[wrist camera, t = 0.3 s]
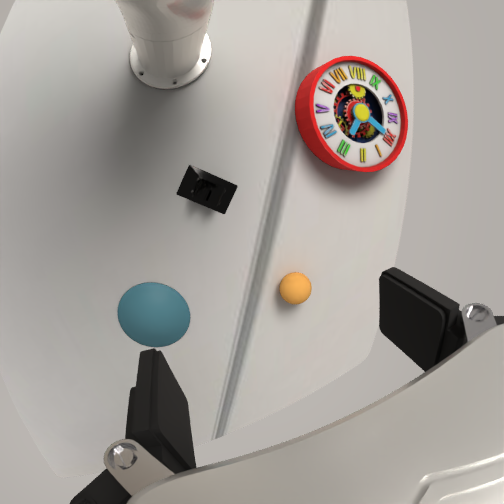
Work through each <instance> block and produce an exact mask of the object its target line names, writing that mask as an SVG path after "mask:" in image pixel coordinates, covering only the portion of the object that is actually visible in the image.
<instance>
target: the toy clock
mask: <svg viewBox="0 0 504 504" xmlns="http://www.w3.org/2000/svg"><path fill="white" fill-rule="evenodd" d="M295 115H296V122H297V125H298V129H299V131H300V134H301V136H302V138H303V140H304V142H305V143H306V145H307V146H308V148H309V149H310V150H311V151H312V152H313V153H314V154H315V155H316V156H317V157H318V158H319V159H320V160H322V161H323V162H325V163H326V164H328V165H330V166H332V167H335V168H338V169H344V170H352V171H361V172H374V171H377V170H381V169H383V168H385V167H387V166H388V165H390V164H391V163H392V162H393V161H394V160H395V159H396V158H397V156H398V155H399V154H400V152H401V150H402V148H403V146H404V143H405V140H406V136H407V130H408V118H407V110H406V106H405V102H404V99H403V97H402V94H401V92H400V90H399V89H398V87H397V85H396V84H395V82H394V81H393V79H392V78H391V77H390V76H389V75H388V74H387V73H386V72H385V71H384V70H383V69H382V68H381V67H379V66H378V65H377V64H375V63H373V62H371V61H369V60H367V59H364V58H361V57H356V56H343V57H339V58H335V59H333V60H331V61H329V62H328V63H326V64H324V65H322V66H320V67H318V68H317V69H315V70H313V71H312V72H311V73H309V74H308V75H307V76H306V77H305V79H304V80H303V81H302V83H301V85H300V87H299V89H298V92H297V96H296V100H295Z"/></svg>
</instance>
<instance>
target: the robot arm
mask: <svg viewBox="0 0 504 504" xmlns="http://www.w3.org/2000/svg"><path fill="white" fill-rule="evenodd" d="M115 1H116V3H117V4H118V6H119V8H120V10H121V12H122V15H123V17H124V20H125V23H126V25H127V28H128V31H129V33H130V36H131V39H132V41H133V45H132V47H131V51H130V64H131V68H132V70H133V72H134V73H135V75H136V76H137V78H138V79H140V80H141V81H142V82H143V83H145V84H147V85H149V86H151V87H154V88H159V89H172V88H178V87H181V86H184V85H186V84H188V83H190V82H192V81H194V80H195V79H196V78H198V77H199V76H200V75H201V74H202V73H203V72H204V70H205V69H206V67H207V65H208V63H209V61H210V57H211V50H212V47H211V42H210V39H209V37H208V35H207V34H206V31H207V28H208V24H209V20H210V16H211V13H212V9H213V5H214V0H115ZM203 61H204V62H205V63H202V62H203ZM142 73H143V75H142V76H141V74H142ZM174 82H176V84H173V83H174ZM379 293H380V319H379V327H380V330H381V332H382V333H383V334H384V335H385V336H386V337H387V338H388V339H389V340H391V341H392V342H393V343H394V344H395V345H396V346H397V347H398V348H399V349H401V350H402V351H403V352H404V353H405V354H406V355H407V356H408V357H410V358H411V359H412V360H413V361H414V362H415V363H416V364H417V365H418V366H419V367H421V368H422V369H423V370H424V371H425V373H423V374H422V375H420V376H419V377H417V378H415V379H414V380H412V381H410V382H409V383H407V384H406V385H404V386H402V387H401V388H399V389H397V390H395V391H394V392H392V393H390V394H388V395H387V396H385V397H383V398H381V399H379V400H378V401H376V402H374V403H372V404H370V405H368V406H366V407H365V408H362V409H360V410H358V411H356V412H354V413H352V414H350V415H348V416H346V417H344V418H342V419H340V420H338V421H335V422H333V423H331V424H329V425H326V426H324V427H321V428H319V429H317V430H315V431H312V432H309V433H307V434H304V435H302V436H299V437H297V438H294V439H292V440H289V441H286V442H283V443H280V444H277V445H274V446H271V447H269V448H266V449H262V450H259V451H256V452H253V453H250V454H246V455H243V456H240V457H236V458H233V459H229V460H225V461H221V462H218V463H214V464H210V465H206V466H202V467H198V468H196V463H195V456H194V449H193V441H192V434H191V426H190V417H189V408H188V402H187V399H186V397H185V395H184V393H183V391H182V389H181V388H180V386H179V384H178V382H177V380H176V379H175V377H174V375H173V373H172V371H171V369H170V367H169V365H168V363H167V361H166V359H165V357H164V355H163V354H162V352H161V351H156V349H154V348H153V349H150V350H146V351H142V352H140V358H139V365H138V373H137V382H136V387H132V388H131V390H130V396H129V405H128V414H127V424H126V435H125V439H122V440H119V441H116V442H114V443H113V444H111V445H110V446H109V447H108V448H107V450H106V452H105V454H104V464H105V466H106V469H105V470H104V471H103V472H102V473H101V474H100V475H99V476H98V477H96V478H95V479H94V480H93V481H92V482H91V483H90V484H89V485H87V486H86V488H84V489H83V490H82V491H81V492H80V493H78V494H77V495H76V496H75V497H74V498H73V499H72V500H71V502H70V504H504V316H493V313H492V311H491V309H490V308H488V307H487V306H485V305H483V304H479V303H472V304H468V305H466V306H465V307H464V308H463V309H462V312H461V311H460V310H459V304H458V303H457V302H455V301H453V300H452V299H450V298H448V297H446V296H445V295H443V294H441V293H440V292H438V291H436V290H435V289H433V288H431V287H429V286H427V285H426V284H424V283H422V282H421V281H419V280H417V279H415V278H413V277H412V276H410V275H408V274H406V273H405V272H403V271H401V270H399V269H397V268H395V267H392V268H390V269H388V270H385V271H383V272H382V274H381V276H380V278H379Z"/></svg>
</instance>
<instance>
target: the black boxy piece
mask: <svg viewBox="0 0 504 504" xmlns="http://www.w3.org/2000/svg"><path fill="white" fill-rule="evenodd" d="M236 189H237V185H235V184H232V183H230V182H228V181H226V180H223V179H221V178H219V177H217V176H214V175H212V174H210V173H208V172H205V171H203V170H201V169H198V168H196V167H194V166H191V165H189V166H188V169H187V171H186V173H185V175H184V178H183V180H182V182H181V184H180V187H179V189H178V191H177V195H179V196H181V197H184V198H186V199H189V200H191V201H194V202H196V203H198V204H201V205H203V206H206V207H208V208H210V209H213V210H215V211H217V212H220V213H222V214H225V213H226V210H227V208H228V206H229V204H230V202H231V200H232V197H233V195H234V193H235V191H236Z"/></svg>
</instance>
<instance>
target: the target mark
mask: <svg viewBox="0 0 504 504" xmlns="http://www.w3.org/2000/svg"><path fill="white" fill-rule="evenodd" d="M118 319H119V323H120V325H121V327H122V329H123V330H124V332H125V333H126V334H127V335H128V336H129V337H130V338H131V339H133V340H134V341H136V342H138V343H140V344H142V345H146V346H150V347H163V346H167V345H170V344H173V343H175V342H176V341H178V340H179V339H180V338H181V337H182V336H183V335H184V334H185V333H186V331H187V329H188V327H189V323H190V312H189V308H188V305H187V303H186V301H185V300H184V298H183V297H182V296H181V295H180V294H179V293H178V292H177V291H176V290H174V289H172V288H171V287H169V286H166V285H163V284H159V283H143V284H139V285H136V286H134V287H132V288H131V289H129V290H128V291H127V292H126V293H125V294H124V295H123V297H122V298H121V300H120V303H119V306H118Z"/></svg>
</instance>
